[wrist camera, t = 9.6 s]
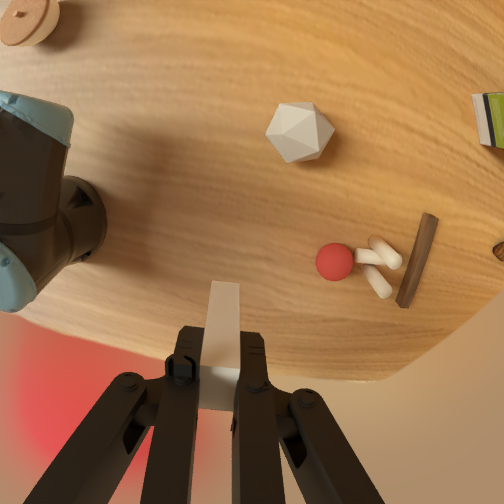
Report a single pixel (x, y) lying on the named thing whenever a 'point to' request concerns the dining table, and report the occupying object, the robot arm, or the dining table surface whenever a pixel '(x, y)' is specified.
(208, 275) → the dining table surface
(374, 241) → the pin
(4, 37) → the lidded jar
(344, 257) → the ball
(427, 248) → the back rail
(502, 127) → the tea box
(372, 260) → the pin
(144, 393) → the robot arm
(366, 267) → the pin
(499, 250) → the croissant
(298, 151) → the die
